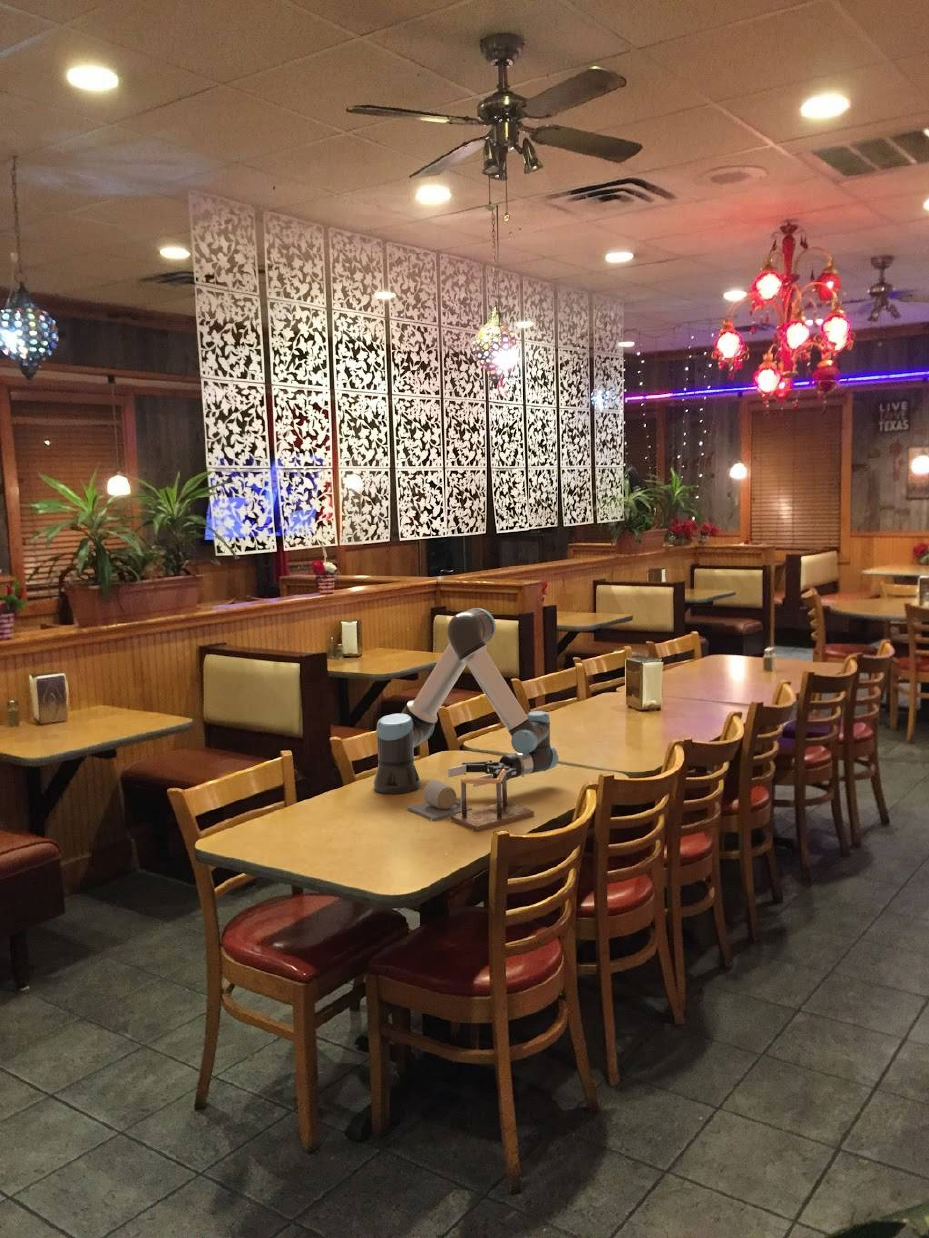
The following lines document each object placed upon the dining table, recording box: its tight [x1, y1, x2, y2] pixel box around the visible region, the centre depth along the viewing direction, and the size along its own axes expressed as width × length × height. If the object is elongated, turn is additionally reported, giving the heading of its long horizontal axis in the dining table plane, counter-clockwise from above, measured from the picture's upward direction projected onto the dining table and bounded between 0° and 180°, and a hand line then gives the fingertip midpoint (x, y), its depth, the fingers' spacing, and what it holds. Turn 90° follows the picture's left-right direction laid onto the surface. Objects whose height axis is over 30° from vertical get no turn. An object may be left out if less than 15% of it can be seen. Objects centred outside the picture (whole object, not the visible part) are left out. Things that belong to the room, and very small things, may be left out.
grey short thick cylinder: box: [422, 779, 462, 810], centre depth 302 cm, size 11×8×8 cm
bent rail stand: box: [449, 769, 535, 832], centre depth 291 cm, size 13×21×13 cm, turn 126°
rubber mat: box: [407, 802, 473, 821], centre depth 301 cm, size 14×14×1 cm
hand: (460, 777), depth 304 cm, fingers open, 13 cm apart
